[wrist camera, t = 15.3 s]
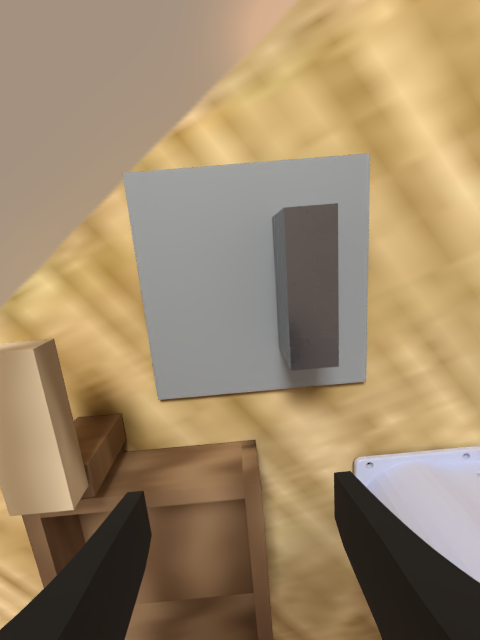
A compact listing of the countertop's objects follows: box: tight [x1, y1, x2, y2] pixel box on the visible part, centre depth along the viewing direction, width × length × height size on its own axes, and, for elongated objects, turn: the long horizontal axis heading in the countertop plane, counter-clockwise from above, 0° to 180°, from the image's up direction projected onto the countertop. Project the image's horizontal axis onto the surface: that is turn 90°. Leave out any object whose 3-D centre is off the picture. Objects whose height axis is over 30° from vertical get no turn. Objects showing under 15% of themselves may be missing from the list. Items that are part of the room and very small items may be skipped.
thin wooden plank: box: [0, 339, 89, 516], centre depth 14 cm, size 3×8×2 cm, turn 5°
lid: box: [123, 153, 370, 400], centre depth 17 cm, size 14×14×5 cm
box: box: [22, 414, 273, 640], centre depth 20 cm, size 14×17×5 cm
